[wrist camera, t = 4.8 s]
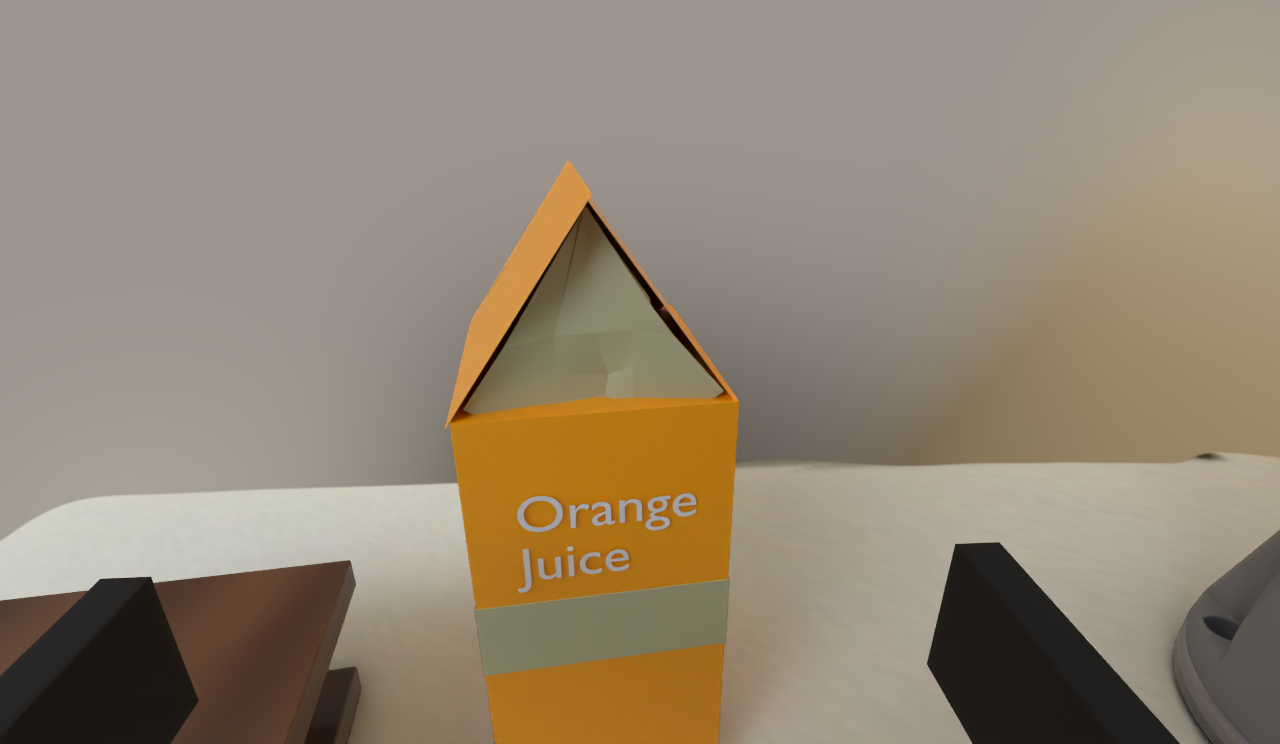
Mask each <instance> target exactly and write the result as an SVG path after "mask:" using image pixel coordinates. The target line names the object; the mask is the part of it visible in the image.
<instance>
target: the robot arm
mask: <svg viewBox="0 0 1280 744" xmlns="http://www.w3.org/2000/svg"><path fill="white" fill-rule="evenodd" d="M927 665H928V667H929V669H930V670H931V672H932V674H933V676H934V677H935V679H936V681H937V682H938V684H939V686H940V688H941V689H942V691H943V693H944V695H945V696H946V698H947V700H948V702H949V703H950V705H951V707H952V708H953V710H954V712H955V714H956V715H957V717H958V719H959V721H960V722H961V724H962V726H963V728H964V729H965V731H966V733H967V734H968V736H969V738H970V740H971V741H972V743H973V744H1180V743H1179V742H1178V741H1177V740H1176V739H1175V738H1174V736H1173V735H1172V734H1171V733H1170V732H1169V731H1168V730H1167V729H1166V728H1165V726H1164V725H1163V724H1162V723H1161V722H1160V721H1159V720H1158V719H1157V717H1156V716H1155V715H1154V714H1153V713H1152V712H1151V711H1150V710H1149V709H1148V707H1147V706H1146V705H1145V704H1144V703H1143V702H1142V701H1141V700H1140V699H1139V697H1138V696H1137V695H1136V694H1135V693H1134V692H1133V691H1132V690H1131V689H1130V687H1129V686H1128V685H1127V684H1126V683H1125V682H1124V681H1123V680H1122V679H1121V677H1120V676H1119V675H1118V674H1117V673H1116V672H1115V671H1114V670H1113V668H1112V667H1111V666H1110V665H1109V664H1108V663H1107V662H1106V661H1105V660H1104V658H1103V657H1102V656H1101V655H1100V654H1099V653H1098V652H1097V651H1096V650H1095V648H1094V647H1093V646H1092V645H1091V644H1090V643H1089V642H1088V641H1087V640H1086V638H1085V637H1084V636H1083V635H1082V634H1081V633H1080V632H1079V631H1078V630H1077V628H1076V627H1075V626H1074V625H1073V624H1072V623H1071V622H1070V621H1069V619H1068V618H1067V617H1066V616H1065V615H1064V614H1063V613H1062V612H1061V611H1060V609H1059V608H1058V607H1057V606H1056V605H1055V604H1054V603H1053V602H1052V601H1051V599H1050V598H1049V597H1048V596H1047V595H1046V594H1045V593H1044V592H1043V591H1042V589H1041V588H1040V587H1039V586H1038V585H1037V584H1036V583H1035V582H1034V581H1033V579H1032V578H1031V577H1030V576H1029V575H1028V574H1027V573H1026V572H1025V570H1024V569H1023V568H1022V567H1021V566H1020V565H1019V564H1018V563H1017V562H1016V560H1015V559H1014V558H1013V557H1012V556H1011V555H1010V554H1009V553H1008V552H1007V550H1006V549H1005V548H1004V547H1003V546H1002V545H1001V544H1000V543H999V542H996V543H971V544H955V548H954V552H953V556H952V561H951V565H950V569H949V573H948V578H947V582H946V586H945V590H944V594H943V599H942V603H941V607H940V611H939V615H938V620H937V624H936V628H935V632H934V637H933V641H932V645H931V649H930V653H929V658H928V662H927ZM1173 665H1174V671H1175V676H1176V679H1177V682H1178V685H1179V688H1180V691H1181V693H1182V695H1183V697H1184V700H1185V702H1186V704H1187V706H1188V708H1189V709H1190V711H1191V713H1192V714H1193V716H1194V718H1195V720H1196V721H1197V723H1198V724H1199V726H1200V727H1201V729H1202V730H1203V731H1204V733H1205V734H1206V736H1207V737H1208V739H1209V740H1210V741H1211V742H1212V744H1280V530H1279V531H1278V532H1276V533H1275V534H1274V535H1273V536H1272V537H1270V538H1269V539H1268V540H1267V541H1265V542H1264V543H1263V544H1262V545H1260V546H1259V547H1258V548H1257V549H1255V550H1254V551H1253V552H1252V553H1250V554H1249V555H1248V556H1247V557H1246V558H1244V559H1243V560H1242V561H1241V562H1239V563H1238V564H1237V565H1236V566H1234V567H1233V568H1232V569H1231V570H1229V571H1228V572H1227V573H1226V574H1224V575H1223V576H1222V577H1221V578H1220V579H1218V580H1217V581H1216V582H1215V583H1213V584H1212V585H1211V586H1210V587H1208V588H1207V589H1206V590H1205V591H1204V592H1203V594H1202V595H1201V596H1200V598H1199V599H1198V600H1197V602H1196V603H1195V604H1194V605H1193V606H1192V608H1191V609H1190V610H1189V612H1188V614H1187V617H1186V619H1185V621H1184V623H1183V626H1182V628H1181V630H1180V632H1179V635H1178V637H1177V639H1176V642H1175V646H1174V651H1173ZM198 702H199V700H198V697H197V695H196V692H195V690H194V687H193V684H192V682H191V679H190V677H189V674H188V672H187V669H186V666H185V664H184V661H183V659H182V656H181V653H180V651H179V648H178V646H177V643H176V641H175V638H174V635H173V633H172V630H171V628H170V625H169V622H168V620H167V617H166V615H165V612H164V610H163V607H162V604H161V602H160V599H159V597H158V594H157V592H156V589H155V586H154V584H153V581H152V579H151V577H136V578H112V579H100V580H99V581H98V582H97V583H96V584H95V585H94V586H93V587H92V588H91V589H90V590H89V591H88V592H86V593H85V594H84V595H83V596H82V597H81V598H80V599H79V600H78V601H77V602H76V603H75V604H74V605H73V606H72V607H71V608H70V609H69V610H68V611H67V612H66V613H65V614H64V615H63V616H62V617H61V618H60V619H58V620H57V621H56V622H55V623H54V624H53V625H52V626H51V627H50V628H49V629H48V630H47V631H46V632H45V633H44V634H43V635H42V636H41V637H40V638H39V639H38V640H37V641H36V642H35V643H34V644H33V645H32V646H30V647H29V648H28V649H27V650H26V651H25V652H24V653H23V654H22V655H21V656H20V657H19V658H18V659H17V660H16V661H15V662H14V663H13V664H12V665H11V666H10V667H9V668H8V669H7V670H6V671H5V672H4V673H2V674H1V675H0V744H171V742H172V741H173V739H174V738H175V736H176V735H177V733H178V732H179V730H180V729H181V727H182V726H183V724H184V723H185V721H186V720H187V718H188V717H189V715H190V714H191V712H192V711H193V709H194V708H195V706H196V705H197V703H198Z"/></svg>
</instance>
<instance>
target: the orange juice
mask: <svg viewBox="0 0 1280 744" xmlns="http://www.w3.org/2000/svg"><path fill="white" fill-rule="evenodd" d="M591 195H592V194H591V192H590V191H589V189H588V188H587V186H586V185H585V183H584V182H583V180H582V179H581V177H580V176H579V174H578V173H577V172H576V170H575V168H574V167H573V166H572V164H571V163H570V161H569V160H568V161H567V163H566V165H565V166H564V168H563V170H562V171H561V173H560V175H559V176H558V178H557V180H556V182H555V183H554V185H553V186H552V188H551V190H550V191H549V193H548V195H547V196H546V198H545V199H544V201H543V203H542V204H541V206H540V208H539V210H538V211H537V213H536V215H535V216H534V218H533V220H532V221H531V223H530V224H529V226H528V228H527V229H526V231H525V233H524V234H523V236H522V237H521V239H520V241H519V243H518V244H517V246H516V247H515V249H514V251H513V252H512V254H511V256H510V257H509V259H508V261H507V262H506V264H505V266H504V267H503V269H502V271H501V272H500V274H499V275H498V277H497V279H496V281H495V282H494V284H493V285H492V287H491V289H490V290H489V292H488V294H487V295H486V297H485V299H484V300H483V302H482V304H481V305H480V307H479V308H478V311H477V312H476V313H475V315H474V317H473V318H472V320H471V323H470V327H469V331H468V336H467V340H466V344H465V348H464V352H463V356H462V360H461V365H460V369H459V373H458V377H457V381H456V385H455V389H454V394H453V398H452V402H451V406H450V410H449V414H448V418H447V423H446V427H447V425H448V424H449V422H450V421H451V422H450V430H451V436H452V444H453V450H454V458H455V465H456V472H457V479H458V486H459V493H460V500H461V507H462V514H463V521H464V528H465V535H466V542H467V550H468V557H469V564H470V571H471V578H472V585H473V592H474V599H475V617H476V624H477V631H478V638H479V645H480V652H481V659H482V666H483V673H484V676H485V677H486V684H487V691H488V698H489V705H490V712H491V719H492V726H493V733H494V740H495V744H718V735H719V719H720V703H721V686H722V670H723V654H724V643H726V630H727V615H728V599H729V583H730V579H729V577H728V573H729V557H730V540H731V524H732V508H733V492H734V475H735V459H736V442H737V426H738V410H739V401H738V399H737V398H736V396H735V395H734V394H733V392H732V391H731V389H730V388H729V387H728V385H727V384H726V382H725V381H724V379H723V378H722V377H721V375H720V374H719V372H718V371H717V369H716V368H715V366H714V365H713V364H712V362H711V361H710V359H709V358H708V357H707V355H706V354H705V352H704V351H703V350H702V348H701V347H700V345H699V344H698V342H697V341H696V339H695V338H694V337H693V335H692V334H691V332H690V331H689V329H688V328H687V326H686V325H685V324H684V322H683V321H682V320H681V318H680V316H679V315H678V314H677V312H676V311H675V309H674V308H673V306H672V305H668V304H667V303H666V301H665V300H664V298H663V297H662V296H661V294H660V293H659V292H658V290H657V289H656V287H655V286H654V285H653V283H652V282H651V281H650V279H649V278H648V277H647V275H646V274H645V272H644V271H643V270H642V268H641V267H640V266H639V264H638V263H637V261H636V260H635V259H634V257H633V256H632V254H631V253H630V252H629V251H628V249H627V248H626V246H625V245H624V243H623V242H622V241H621V239H620V238H619V237H618V235H617V234H616V233H615V231H614V230H613V228H612V227H611V226H610V224H609V223H608V221H607V220H606V219H605V217H604V216H603V215H602V213H601V212H600V210H599V209H598V208H597V206H596V205H595V204H594V202H593V201H592V199H591V198H590V197H591ZM446 427H445V428H446Z"/></svg>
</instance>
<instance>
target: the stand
mask: <svg viewBox="0 0 1280 744" xmlns="http://www.w3.org/2000/svg"><path fill="white" fill-rule="evenodd" d="M153 584H154V586H155V589H156V592H157V594H158V597H159V599H160V602H161V604H162V607H163V610H164V612H165V615H166V617H167V620H168V622H169V625H170V628H171V630H172V633H173V635H174V638H175V641H176V643H177V646H178V648H179V651H180V653H181V656H182V659H183V661H184V664H185V666H186V669H187V672H188V674H189V677H190V679H191V682H192V684H193V687H194V690H195V692H196V695H197V697H198V700H199V702H198V703H197V705H196V706H195V708H194V709H193V711H192V712H191V714H190V715H189V717H188V718H187V720H186V721H185V723H184V724H183V726H182V727H181V729H180V730H179V732H178V733H177V735H176V736H175V738H174V739H173V741H172V742H171V744H347V741H348V737H349V733H350V729H351V726H352V722H353V718H354V714H355V710H356V706H357V703H358V699H359V695H360V691H361V683H360V679H359V675H358V671H357V667H349V668H342V669H334V670H328V668H329V665H330V662H331V659H332V656H333V653H334V650H335V647H336V644H337V641H338V637H339V634H340V631H341V628H342V625H343V622H344V619H345V616H346V613H347V610H348V607H349V604H350V601H351V598H352V595H353V592H354V589H355V586H356V582H355V578H354V574H353V569H352V565H351V561H350V560H348V561H339V562H331V563H322V564H313V565H305V566H296V567H287V568H279V569H270V570H262V571H253V572H244V573H236V574H227V575H218V576H210V577H201V578H192V579H184V580H175V581H166V582H158V583H153ZM86 592H88V591H80V592H71V593H63V594H54V595H45V596H37V597H28V598H19V599H11V600H2V601H0V675H1V674H2V673H4V672H5V671H6V670H7V669H8V668H9V667H10V666H11V665H12V664H13V663H14V662H15V661H16V660H17V659H18V658H19V657H20V656H21V655H22V654H23V653H24V652H25V651H26V650H27V649H28V648H29V647H30V646H32V645H33V644H34V643H35V642H36V641H37V640H38V639H39V638H40V637H41V636H42V635H43V634H44V633H45V632H46V631H47V630H48V629H49V628H50V627H51V626H52V625H53V624H54V623H55V622H56V621H57V620H58V619H60V618H61V617H62V616H63V615H64V614H65V613H66V612H67V611H68V610H69V609H70V608H71V607H72V606H73V605H74V604H75V603H76V602H77V601H78V600H79V599H80V598H81V597H82V596H83V595H84V594H85V593H86Z"/></svg>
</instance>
